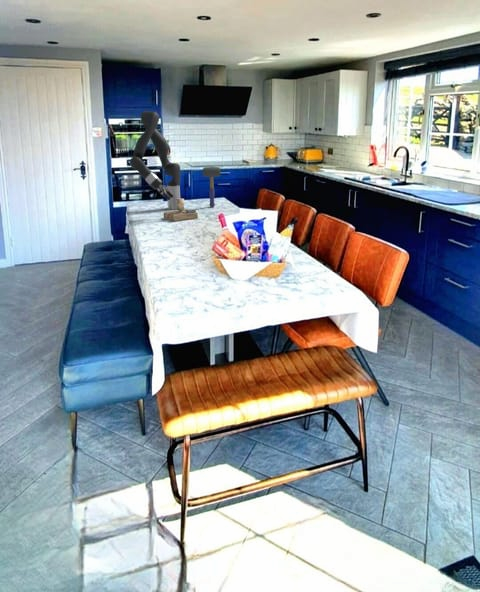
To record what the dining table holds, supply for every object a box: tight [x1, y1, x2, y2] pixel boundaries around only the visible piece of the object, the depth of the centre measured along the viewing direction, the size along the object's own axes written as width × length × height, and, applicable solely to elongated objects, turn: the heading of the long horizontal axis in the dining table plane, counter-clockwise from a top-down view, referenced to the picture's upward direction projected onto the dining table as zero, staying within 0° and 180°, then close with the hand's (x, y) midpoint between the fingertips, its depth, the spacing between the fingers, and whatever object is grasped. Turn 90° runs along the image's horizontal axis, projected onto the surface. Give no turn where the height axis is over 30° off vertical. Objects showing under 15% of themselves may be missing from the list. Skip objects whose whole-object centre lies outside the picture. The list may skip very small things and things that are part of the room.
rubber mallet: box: [202, 166, 221, 208], centre depth 381 cm, size 12×8×30 cm, turn 101°
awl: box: [176, 197, 185, 213], centre depth 346 cm, size 5×5×12 cm
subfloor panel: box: [163, 208, 199, 223], centre depth 348 cm, size 15×18×4 cm
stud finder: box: [186, 208, 197, 213], centre depth 346 cm, size 3×6×2 cm, turn 127°
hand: (171, 198), depth 344 cm, fingers open, 8 cm apart
